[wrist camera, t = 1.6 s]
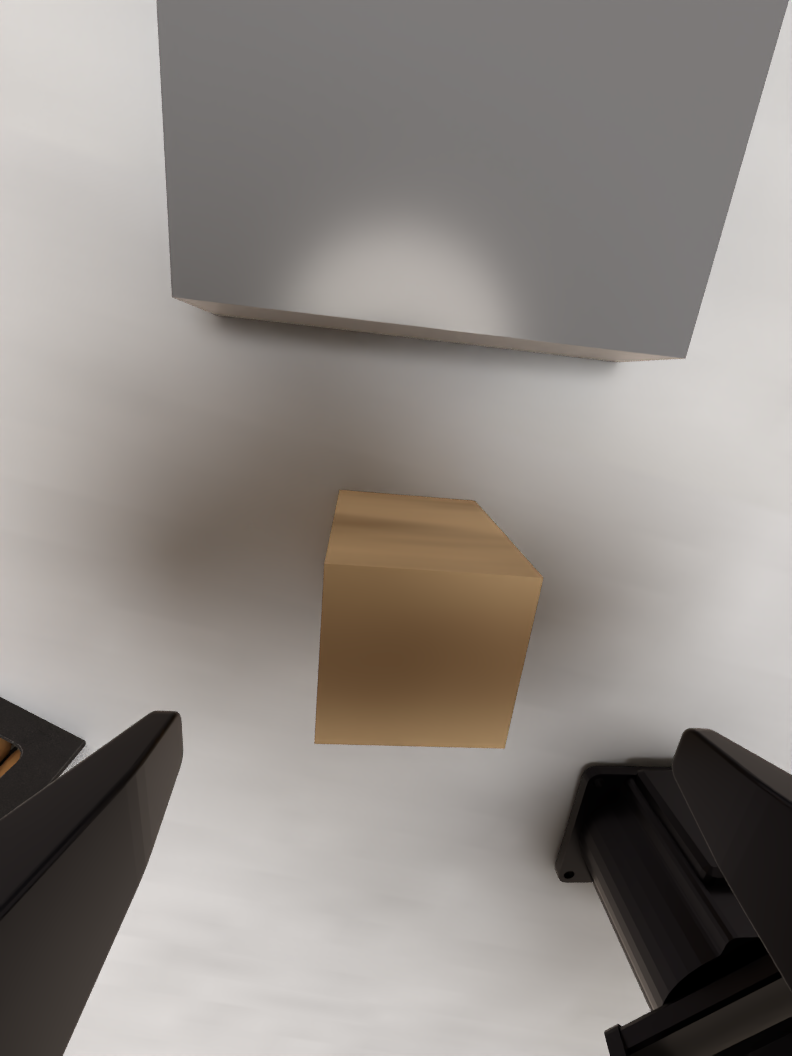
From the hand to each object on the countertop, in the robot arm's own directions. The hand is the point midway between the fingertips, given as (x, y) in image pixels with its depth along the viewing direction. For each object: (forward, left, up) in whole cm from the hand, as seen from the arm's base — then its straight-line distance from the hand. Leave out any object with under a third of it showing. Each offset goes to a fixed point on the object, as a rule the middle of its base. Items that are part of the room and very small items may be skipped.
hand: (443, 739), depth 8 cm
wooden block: (0, 0, -8) cm, 8 cm away
